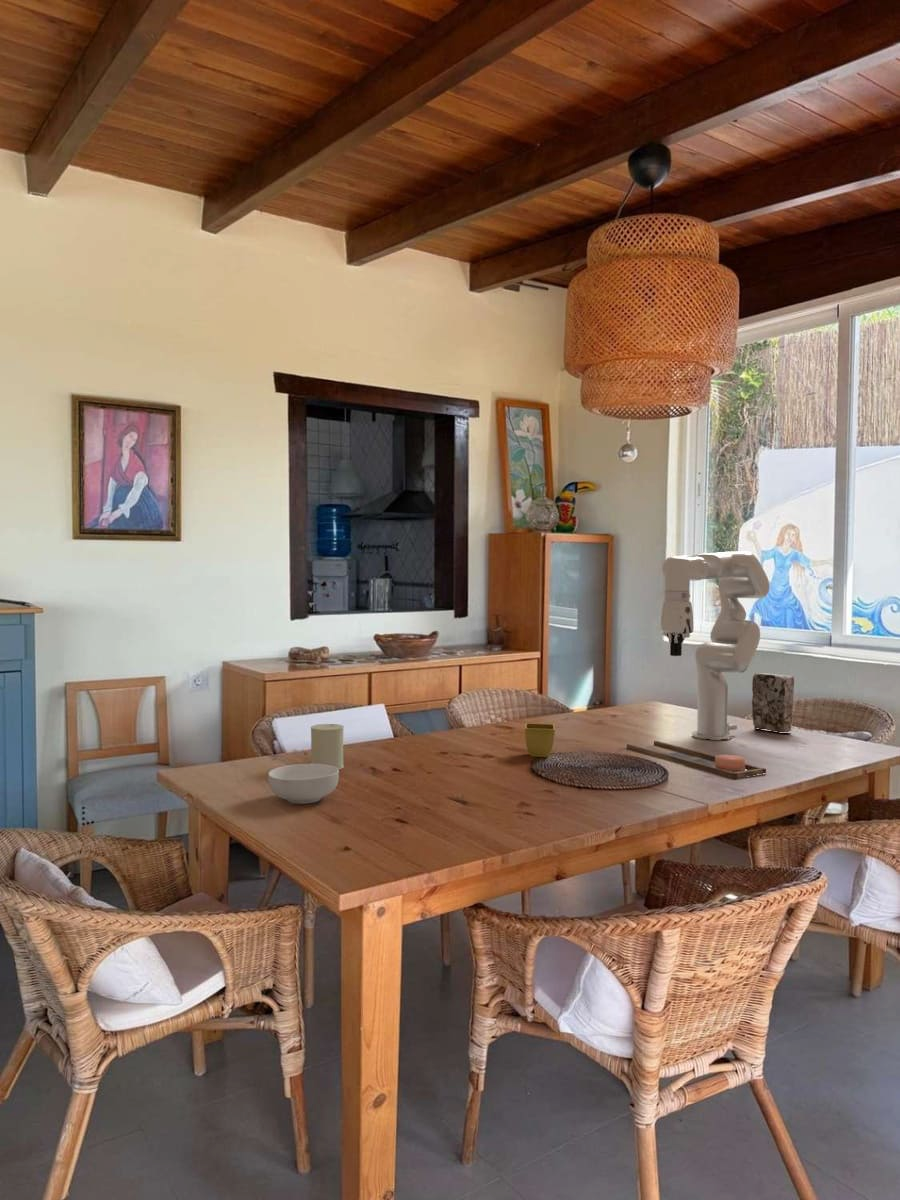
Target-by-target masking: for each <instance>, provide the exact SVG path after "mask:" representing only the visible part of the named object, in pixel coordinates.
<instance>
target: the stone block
mask: <svg viewBox="0 0 900 1200" xmlns="http://www.w3.org/2000/svg"><path fill="white" fill-rule="evenodd" d="M751 684H752V685H751V686H752V687H751V689H752V698H751V699H752V700H751V705H752V706H751V707H752V711H751V712H752V723H753V726H754V727H753V728H754V729H755V728H759V729H767V730H771V731H777V732H789V731H792V721H793V708H794V689H795V678H794V676H792V675H788V674H779V673H778V674H775V673H768V672H759V673H758V672H756V673H754V675H753V677H752V683H751Z"/></svg>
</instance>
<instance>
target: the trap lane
mask: <svg viewBox="0 0 900 1200" xmlns="http://www.w3.org/2000/svg"><path fill="white" fill-rule="evenodd" d="M626 749H628V750H632V751H634V752H638V753H640V754H641V753H642V754H645V755H649V756H652V757H655V758H656V757H657V758H660V759H663V760H667V761H670V762H674V763H677V764H681V765H684V766H686V767H690V768H694V769H697V770H700V771H704V772H706V773H707V772H708V773H711V774H715V775H718V776H722V777H725V778H728V777H729V779H733V780H737V779H736V778H739V779H742V778H741V777H745V778H748V777H747V776H752V777H754V776H753V775H757V774H763V773H766V774H767V768H763V767H759V766H756V765H751V764H749V763H745V769H747V771H741V772H731V771H727V770H723V769H720V768H716V767H715V756H716V755H714V754H709V753H705V752H701V751H697V750H696V749H695V750H694V749H691V748H687V747H683V746H678V745H676V744H675V745H674V744H671V743H667V742H664V741H659V740H653V744H652V745H643V746H638V745H636V744H635V745H634V744H631V743H627V744H626Z"/></svg>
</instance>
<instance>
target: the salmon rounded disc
mask: <svg viewBox="0 0 900 1200" xmlns="http://www.w3.org/2000/svg"><path fill="white" fill-rule="evenodd" d="M714 756H715V767H716V768H720V769H723V770H727V771H731V772H741V771H745V764H746V758H745V757H743V756H740V755H735V754H719V755H714Z"/></svg>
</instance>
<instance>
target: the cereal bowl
mask: <svg viewBox="0 0 900 1200" xmlns="http://www.w3.org/2000/svg"><path fill="white" fill-rule="evenodd" d="M267 774H268V775H267V779H268V780H267V781H268V784H269V785H268V786H269V788H270V790H271V792H272V793H273V794H274V795H275V796H277V797H278V798H281V799H283V800H287V801H288V803H291V804H299V805H300V804H302V805H304V804H312V803H316V802H320V800H321V799H322V798H324V797H326V796H328V795H329V794H331V793H333V791H335V789H336V787H337V786H338V784H339V779H340V777H339V776H340V770H338V768H336V767H334V766H330V765H324V764H311V763H298V764H289V765H284V766H280V767H276V768H272V769H271V770H270V771H268V773H267Z"/></svg>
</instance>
